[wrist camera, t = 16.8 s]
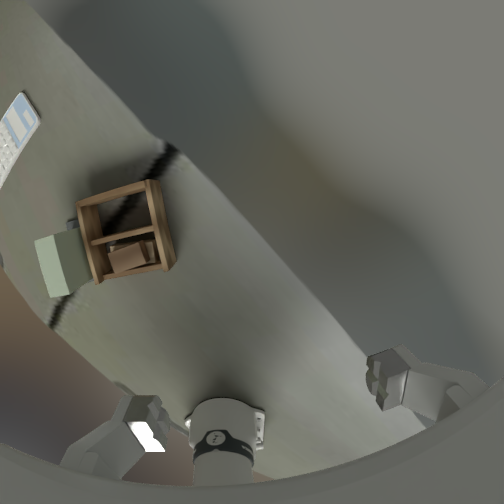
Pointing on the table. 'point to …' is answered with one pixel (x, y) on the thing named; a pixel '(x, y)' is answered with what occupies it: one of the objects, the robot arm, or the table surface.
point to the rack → (96, 240)
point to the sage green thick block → (63, 262)
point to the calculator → (16, 132)
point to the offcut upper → (129, 256)
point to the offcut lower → (150, 246)
